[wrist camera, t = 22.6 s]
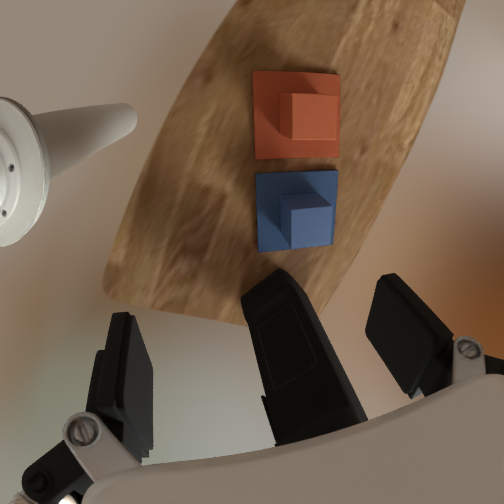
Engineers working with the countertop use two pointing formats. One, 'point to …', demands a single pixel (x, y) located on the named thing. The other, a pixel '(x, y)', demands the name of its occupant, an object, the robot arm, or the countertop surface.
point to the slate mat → (288, 184)
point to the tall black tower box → (297, 363)
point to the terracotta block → (308, 116)
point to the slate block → (305, 220)
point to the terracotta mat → (268, 113)
